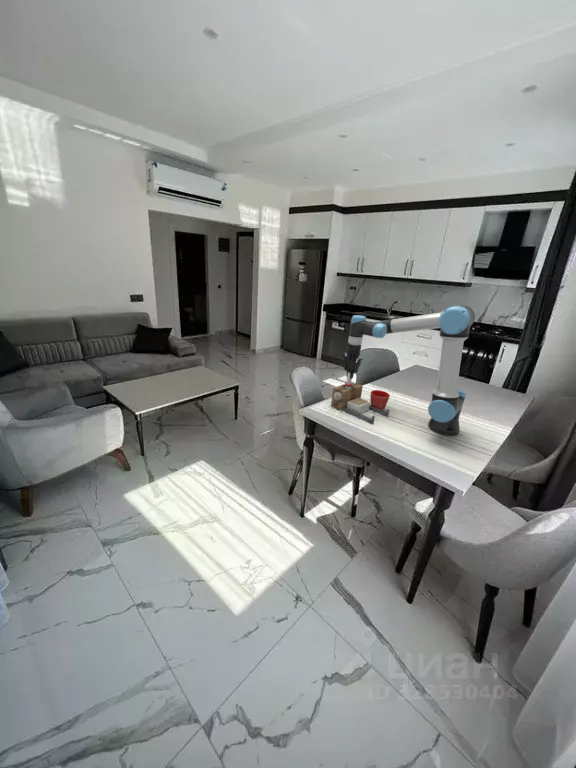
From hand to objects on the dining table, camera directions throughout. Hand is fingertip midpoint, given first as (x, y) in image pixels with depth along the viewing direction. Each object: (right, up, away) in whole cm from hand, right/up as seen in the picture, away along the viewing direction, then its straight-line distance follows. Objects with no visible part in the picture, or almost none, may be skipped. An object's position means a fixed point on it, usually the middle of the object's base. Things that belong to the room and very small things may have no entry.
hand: (348, 383), depth 183 cm
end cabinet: (-1, -13, +5) cm, 14 cm away
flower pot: (+18, -15, +4) cm, 24 cm away
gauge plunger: (-1, -8, +3) cm, 8 cm away
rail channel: (+9, -18, -4) cm, 20 cm away
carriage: (+5, -16, -1) cm, 17 cm away
